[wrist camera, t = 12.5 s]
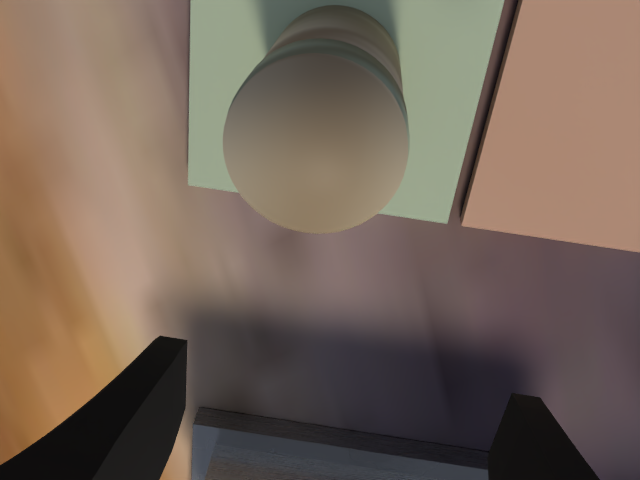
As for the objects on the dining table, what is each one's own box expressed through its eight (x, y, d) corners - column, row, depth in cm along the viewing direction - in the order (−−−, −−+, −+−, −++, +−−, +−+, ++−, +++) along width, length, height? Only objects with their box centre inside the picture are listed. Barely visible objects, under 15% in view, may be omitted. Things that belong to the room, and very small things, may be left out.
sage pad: (518, -70, 17) (521, -68, 16) (445, 217, 21) (446, 223, 21) (197, -115, 17) (192, -115, 17) (191, 179, 22) (188, 185, 21)
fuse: (414, 14, 18) (429, 71, 12) (389, 146, 20) (391, 247, 14) (274, -7, 18) (224, 41, 12) (263, 127, 20) (217, 221, 14)
